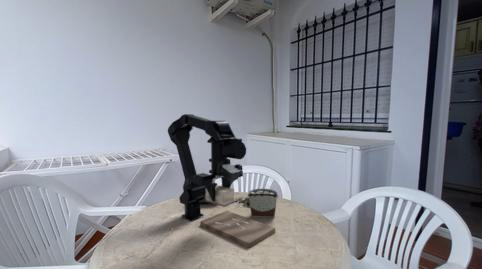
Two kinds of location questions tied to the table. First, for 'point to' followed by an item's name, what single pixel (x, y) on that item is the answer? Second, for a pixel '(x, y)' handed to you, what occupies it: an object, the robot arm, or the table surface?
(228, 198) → the block
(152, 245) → the table surface
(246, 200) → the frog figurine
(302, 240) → the table surface
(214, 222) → the oak board
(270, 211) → the food container
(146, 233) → the table surface
